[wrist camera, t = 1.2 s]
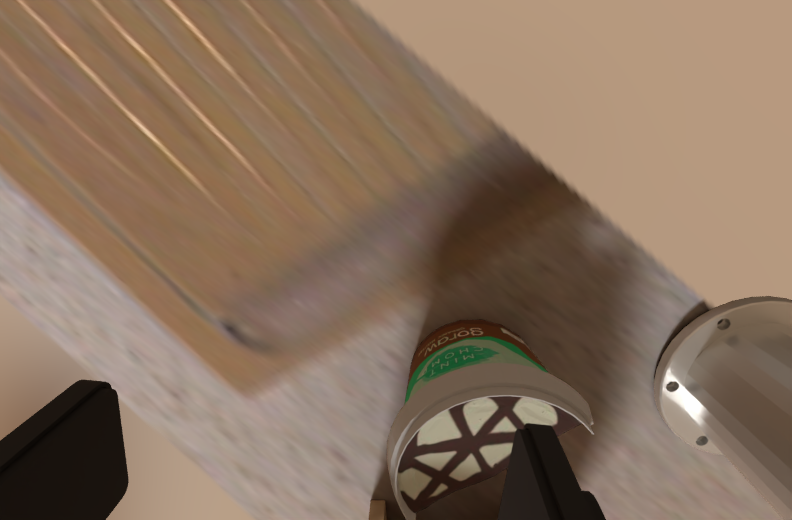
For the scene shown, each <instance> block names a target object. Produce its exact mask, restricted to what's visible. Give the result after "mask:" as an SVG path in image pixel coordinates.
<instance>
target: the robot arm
mask: <svg viewBox="0 0 792 520" xmlns="http://www.w3.org/2000/svg"><path fill="white" fill-rule="evenodd" d="M654 398H655V402H656V405H657V409H658V411H659V413H660V415H661V416H662V418H663V420H664V421H665V423H666V424H667V425H668V426H669V427H670V429H671V430H672V431H673V432H674V433H675V434H676V435H677V436H678V437H679V438H680V439H682V440H683V441H684V442H685V443H687V444H689V445H690V446H692V447H694V448H696V449H699V450H702V451H705V452H708V453H712V454H719V455H724V456H725V457H726V458H727V459H728V460H729V461H730V462H731V463H732V464H733V465H734V466H735V467H736V469H737V470H738V471H739V472H740V473H741V474H742V475H743V476H744V477H745V478H746V479H747V480H748V481H749V483H750V484H751V485H752V486H753V487H754V488H755V489H756V490H757V491H758V492H759V493H760V494H761V496H762V497H763V498H764V499H765V500H766V501H767V502H768V503H769V504H770V505H771V506H772V507H773V508H774V510H775V511H776V512H777V513H778V514H779V515H780V516H781V517H782V518H783V519H784V520H792V300H789V299H786V298H778V297H771V296H766V297H750V298H744V299H740V300H735V301H731V302H729V303H726V304H723V305H720V306H718V307H715V308H713V309H711V310H710V311H708V312H706V313H704V314H702V315H701V316H699V317H697V318H696V319H695V320H694V321H692V322H691V323H690V324H688V325H687V326H686V327H684V328H683V329H682V331H681V332H680V333H679V334H678V335H677V336H676V337H675V338H674V339H673V340H672V341H671V343H670V344H669V346H668V347H667V349H666V350H665V352H664V353H663V355H662V357H661V360H660V362H659V365H658V367H657V370H656V375H655V380H654ZM127 487H128V472H127V464H126V457H125V449H124V442H123V434H122V426H121V419H120V410H119V403H118V395H117V392H116V391H115V390H114V389H112V388H111V385H110V384H109V383H107V382H102V381H92V380H79V381H77V382H76V383H74V384H73V385H71V386H70V387H69V388H68V389H66V390H65V391H64V392H63V393H61V394H60V395H59V396H57V397H56V398H55V399H54V400H52V401H51V402H50V403H48V404H47V405H46V406H44V407H43V408H42V409H41V410H39V411H38V412H37V413H35V414H34V415H33V416H31V417H30V418H29V419H28V420H26V421H25V422H24V423H23V424H21V425H20V426H19V427H17V428H16V429H15V430H14V431H12V432H11V433H10V434H8V435H7V436H6V437H4V438H3V439H2V440H1V441H0V520H106V518H107V517H108V516H109V515H110V513H111V512H112V511H113V509H114V508H115V507H116V506H117V504H118V503H119V502H120V500H121V499H122V497H123V496H124V494H125V492H126V490H127ZM498 520H606V519H605V517H604V515H603V512H602V510H601V508H600V506H599V504H598V502H597V500H596V499H595V497H594V495H593V494H592V493H590V492H589V491H581V489H580V487H579V484H578V482H577V480H576V478H575V475H574V473H573V471H572V469H571V466H570V464H569V462H568V460H567V458H566V455H565V453H564V451H563V449H562V446H561V444H560V442H559V440H558V437H557V435H556V433H555V431H554V429H553V427H552V426H550V425H542V424H531V423H526V424H525V425H524V428H523V429H517V430H516V432H515V436H514V441H513V446H512V451H511V456H510V461H509V465H508V470H507V475H506V480H505V485H504V490H503V495H502V500H501V505H500V510H499V515H498Z"/></svg>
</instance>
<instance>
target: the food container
mask: <svg viewBox="0 0 792 520" xmlns="http://www.w3.org/2000/svg"><path fill="white" fill-rule="evenodd" d="M526 423H531V424H542V425H550V426H552V427H553V429H554V431H555V433H556V435H557V436H559V435H560V434H562V433H564V432H566V431H568V430H570V429H572V428H574V427H576V426H578V425H580V424H584V426H585V427H586V428H587V429H588V430H589V431H590V432H591V433H592V434H593V435H594V432H593V430H592V428H591V426H590V425H592V424H594V422H593V418H592V415H591V411H590V408H589V404H588V403H587V402H586V401H585V400H584V398H583V397H582V396H581V395H580V394H579V393H578V392H577V391H576V390H574V389H573V388H572V387H571V386H569V385H568V384H567V383H566V382H564V381H562V380H560V379H559V378H557V377H555V376H553V375H552V374H549V373H548V371H547V370H546V369H545V368H544V366H543V365H542V364H541V362H540V361H539V360H538V359H537V357H536V356H535V355H534V353H533V352H532V351H531V350H530V348H529V347H528V346H527V345H526V343H525V342H524V341H523V340H522V339H521V338H520V337H519V336H518V335H517V334H515V333H514V332H512V331H511V330H509V329H507V328H506V327H504V326H503V325H500V324H497V323H493V322H489V321H485V320H481V319H479V320H459V321H456V322H453V323H450V324H446V325H444V326H442V327H440V328H438V329H436V330H435V331H434V332H432V333H431V334H430V335H428V336H427V337H426V338H425V339H424V341H423V342H422V343H421V344H420V346H419V347H418V349H417V350H416V352H415V354H414V357H413V359H412V363H411V367H410V374H409V380H408V386H407V393H406V399H405V405H404V406H403V408H402V409H401V410H400V412H399V413H398V414H397V417H396V419H395V421H394V423H393V425H392V427H391V430H390V434H389V438H388V441H387V464H388V471H389V476H390V481H391V486H392V489H393V492H394V496H395V499H396V501H397V503H398V505H399V507H400V509H401V511H402V513H403V515H404V517H405V519H406V520H416V512H418V511H420V510H422V509H425V508H427V507H428V506H429V505H431V504H432V503H434V502H435V501H437V500H439V499H441V498H443V497H445V496H447V495H449V494H451V493H453V492H455V491H457V490H459V489H462V488H465V487H468V486H470V485H473V484H476V483H478V482H481V481H483V480H486V479H488V478H491V477H493V476H495V475H497V474H498V473H500V472H501V471H503V470H505V469H506V468H508V465H509V461H510V456H511V451H512V446H513V441H514V436H515V432H516V430H517V429H523V428H524V425H525V424H526Z"/></svg>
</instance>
